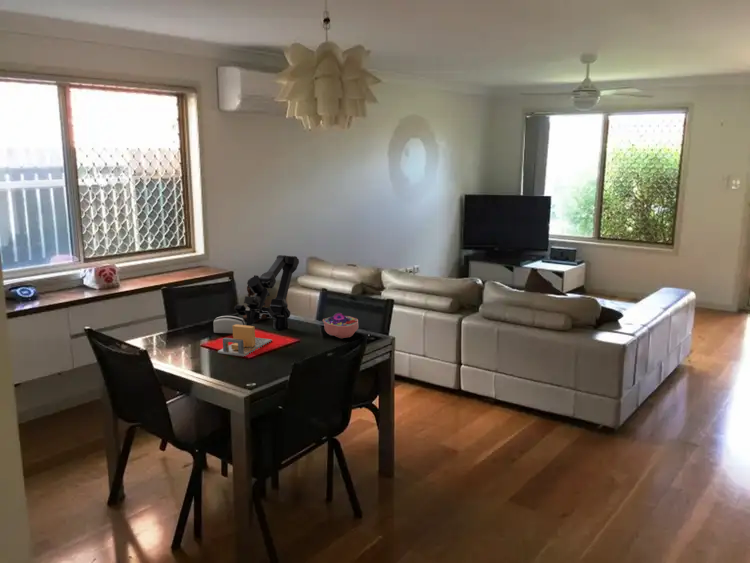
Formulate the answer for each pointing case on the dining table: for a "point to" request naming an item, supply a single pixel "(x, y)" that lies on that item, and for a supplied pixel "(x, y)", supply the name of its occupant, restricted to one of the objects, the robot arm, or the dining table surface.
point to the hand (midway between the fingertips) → (247, 326)
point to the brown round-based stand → (250, 293)
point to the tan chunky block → (244, 335)
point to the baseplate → (246, 349)
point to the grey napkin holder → (226, 324)
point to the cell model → (340, 325)
